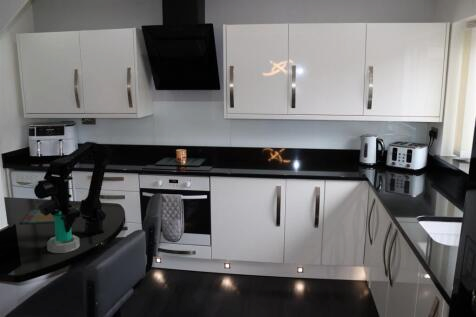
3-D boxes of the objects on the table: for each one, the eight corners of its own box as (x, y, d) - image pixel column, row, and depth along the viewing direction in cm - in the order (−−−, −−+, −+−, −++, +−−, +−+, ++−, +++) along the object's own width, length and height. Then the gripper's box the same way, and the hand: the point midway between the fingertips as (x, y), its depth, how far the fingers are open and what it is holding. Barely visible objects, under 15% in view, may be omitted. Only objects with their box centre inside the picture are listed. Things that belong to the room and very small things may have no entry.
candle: (59, 242, 155) (58, 213, 153) (52, 238, 159) (51, 210, 156) (74, 238, 159) (73, 210, 157) (67, 234, 163) (66, 206, 161)
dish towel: (75, 223, 188) (75, 218, 188) (20, 225, 182) (20, 220, 182) (79, 212, 204) (79, 207, 204) (30, 214, 198) (29, 209, 198)
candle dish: (70, 238, 168) (70, 232, 167) (85, 246, 160) (85, 239, 160) (41, 246, 159) (41, 239, 158) (56, 255, 151) (55, 248, 151)
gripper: (29, 191, 155) (32, 229, 158) (51, 201, 143) (54, 242, 146) (57, 186, 164) (59, 222, 166) (80, 195, 152) (82, 234, 155)
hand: (63, 230), depth 158 cm, fingers closed on candle, 7 cm apart
